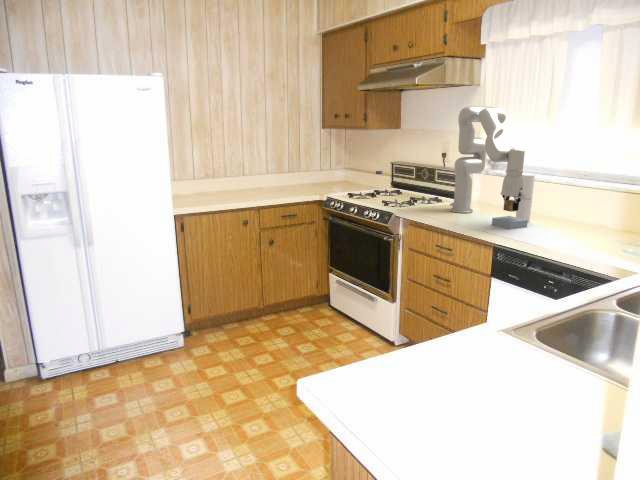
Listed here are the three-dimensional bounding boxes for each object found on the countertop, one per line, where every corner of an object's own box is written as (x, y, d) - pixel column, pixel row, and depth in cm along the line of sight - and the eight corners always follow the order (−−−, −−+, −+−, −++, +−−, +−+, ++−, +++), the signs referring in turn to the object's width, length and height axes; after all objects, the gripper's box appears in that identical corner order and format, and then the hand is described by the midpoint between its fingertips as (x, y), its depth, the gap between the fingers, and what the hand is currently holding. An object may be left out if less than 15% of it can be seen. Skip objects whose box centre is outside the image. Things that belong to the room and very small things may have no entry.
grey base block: (491, 225, 258) (492, 217, 257) (508, 223, 263) (509, 215, 262) (509, 230, 247) (510, 222, 246) (526, 227, 253) (527, 220, 252)
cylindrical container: (512, 220, 268) (517, 174, 262) (522, 219, 270) (527, 173, 264) (522, 223, 261) (527, 175, 255) (532, 222, 264) (537, 175, 258)
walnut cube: (503, 210, 254) (504, 200, 253) (510, 209, 256) (511, 199, 255) (511, 211, 250) (512, 201, 249) (518, 210, 252) (519, 201, 251)
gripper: (496, 172, 254) (492, 207, 259) (522, 175, 239) (518, 212, 244) (506, 171, 258) (503, 206, 262) (533, 174, 243) (529, 211, 247)
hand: (510, 209), depth 253 cm, fingers closed on walnut cube, 5 cm apart
